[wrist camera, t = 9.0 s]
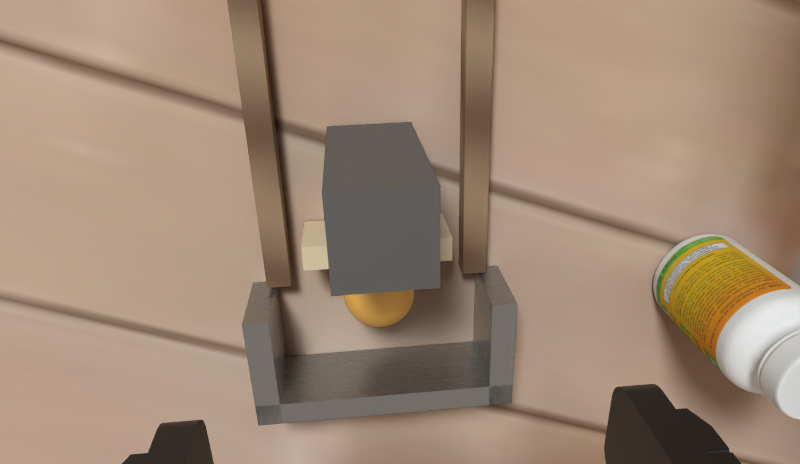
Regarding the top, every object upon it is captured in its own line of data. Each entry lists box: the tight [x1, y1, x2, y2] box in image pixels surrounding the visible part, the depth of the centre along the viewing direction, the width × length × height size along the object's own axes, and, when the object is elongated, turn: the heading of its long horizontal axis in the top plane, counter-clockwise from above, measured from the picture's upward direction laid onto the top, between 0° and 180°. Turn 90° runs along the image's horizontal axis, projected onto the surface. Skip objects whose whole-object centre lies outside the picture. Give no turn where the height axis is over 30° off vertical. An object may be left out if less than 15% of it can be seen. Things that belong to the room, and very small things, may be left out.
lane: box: [227, 0, 495, 288], centre depth 28 cm, size 17×11×1 cm, turn 2°
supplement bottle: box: [653, 234, 800, 420], centre depth 29 cm, size 5×5×10 cm
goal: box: [242, 266, 517, 426], centre depth 31 cm, size 6×13×4 cm, turn 92°
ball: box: [344, 290, 415, 327], centre depth 30 cm, size 4×4×4 cm
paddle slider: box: [301, 122, 452, 296], centre depth 26 cm, size 6×7×9 cm
